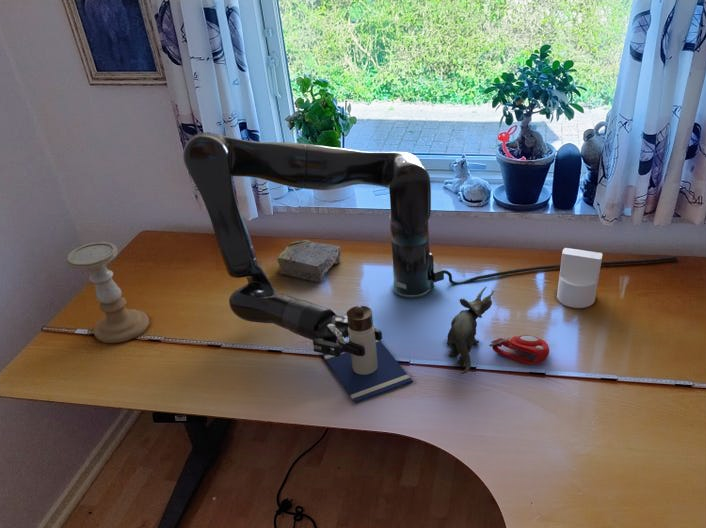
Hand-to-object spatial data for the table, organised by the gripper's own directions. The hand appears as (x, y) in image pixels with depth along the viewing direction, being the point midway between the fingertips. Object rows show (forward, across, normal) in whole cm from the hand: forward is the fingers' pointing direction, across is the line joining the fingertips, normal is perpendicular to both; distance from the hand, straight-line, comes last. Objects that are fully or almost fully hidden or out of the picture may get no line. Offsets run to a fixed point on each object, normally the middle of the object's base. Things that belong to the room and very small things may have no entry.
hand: (372, 343), depth 127 cm
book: (-2, 0, +8) cm, 8 cm away
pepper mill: (-3, 0, +7) cm, 7 cm away
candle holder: (-62, -17, +8) cm, 64 cm away
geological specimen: (-40, +26, +8) cm, 49 cm away
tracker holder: (+23, +22, +8) cm, 33 cm away
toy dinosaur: (+13, +14, +8) cm, 21 cm away
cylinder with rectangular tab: (+26, +47, +7) cm, 54 cm away
